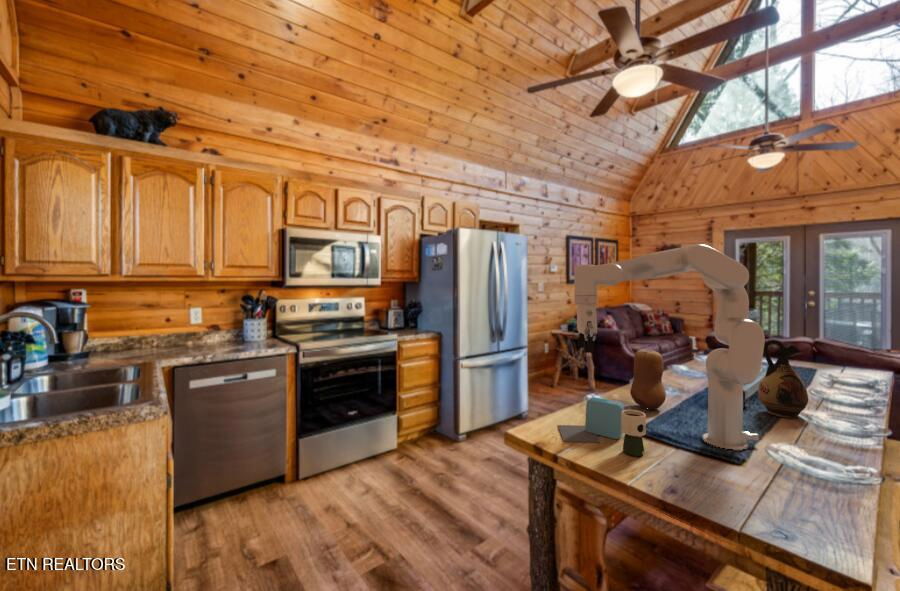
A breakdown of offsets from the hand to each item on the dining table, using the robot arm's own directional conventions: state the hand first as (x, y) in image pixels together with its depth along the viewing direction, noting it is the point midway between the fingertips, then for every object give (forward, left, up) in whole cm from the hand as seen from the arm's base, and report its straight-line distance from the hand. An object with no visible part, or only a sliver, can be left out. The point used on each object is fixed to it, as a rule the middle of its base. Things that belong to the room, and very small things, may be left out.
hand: (585, 349), depth 138 cm
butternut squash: (-33, -36, -31) cm, 58 cm away
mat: (+2, -4, -31) cm, 31 cm away
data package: (-7, -4, -31) cm, 32 cm away
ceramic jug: (-82, -32, -31) cm, 93 cm away
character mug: (-12, +11, -31) cm, 35 cm away
